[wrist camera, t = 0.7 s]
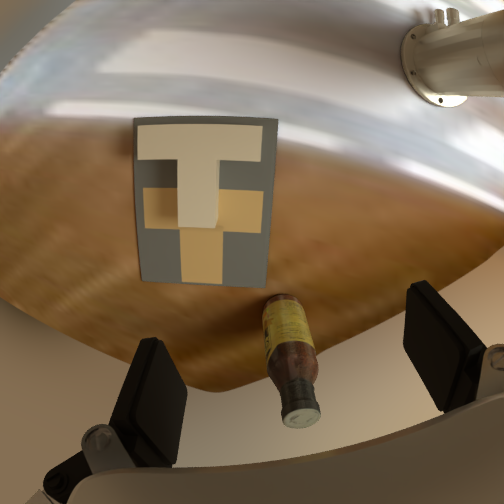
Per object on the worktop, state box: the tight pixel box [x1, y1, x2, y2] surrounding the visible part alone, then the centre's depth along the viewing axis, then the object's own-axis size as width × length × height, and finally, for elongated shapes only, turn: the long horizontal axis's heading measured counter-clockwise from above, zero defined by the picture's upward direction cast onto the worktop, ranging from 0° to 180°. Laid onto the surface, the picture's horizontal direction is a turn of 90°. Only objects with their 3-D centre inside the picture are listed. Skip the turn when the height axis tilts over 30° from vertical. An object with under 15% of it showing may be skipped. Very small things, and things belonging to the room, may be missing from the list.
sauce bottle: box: [262, 294, 321, 428], centre depth 37 cm, size 6×6×20 cm
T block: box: [137, 124, 263, 228], centre depth 35 cm, size 12×14×4 cm
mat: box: [134, 116, 278, 288], centre depth 39 cm, size 23×18×1 cm
